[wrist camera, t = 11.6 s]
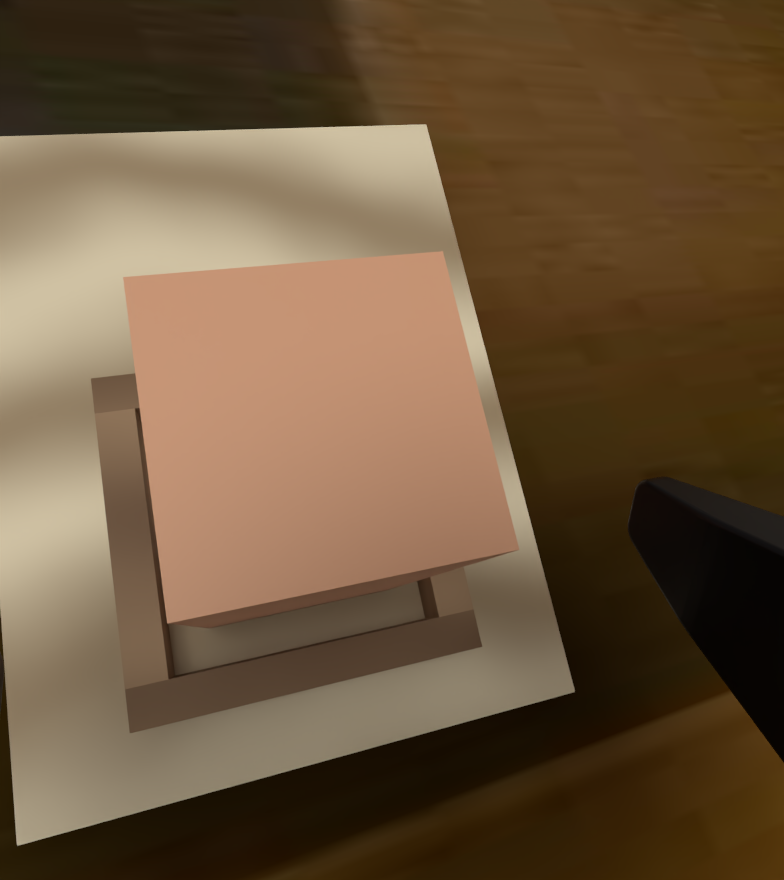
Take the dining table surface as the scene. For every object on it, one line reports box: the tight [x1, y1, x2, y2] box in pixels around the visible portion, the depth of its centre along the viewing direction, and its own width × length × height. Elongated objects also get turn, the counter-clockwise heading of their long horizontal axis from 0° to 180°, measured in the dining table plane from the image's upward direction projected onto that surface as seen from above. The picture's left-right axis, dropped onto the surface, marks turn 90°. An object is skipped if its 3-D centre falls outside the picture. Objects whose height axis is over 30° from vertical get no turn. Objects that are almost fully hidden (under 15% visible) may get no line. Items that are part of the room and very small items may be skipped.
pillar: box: [123, 251, 519, 628], centre depth 14 cm, size 5×5×10 cm
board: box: [0, 125, 575, 846], centre depth 20 cm, size 20×15×2 cm
